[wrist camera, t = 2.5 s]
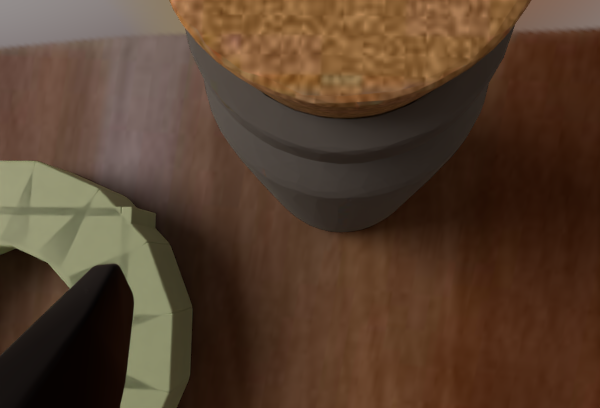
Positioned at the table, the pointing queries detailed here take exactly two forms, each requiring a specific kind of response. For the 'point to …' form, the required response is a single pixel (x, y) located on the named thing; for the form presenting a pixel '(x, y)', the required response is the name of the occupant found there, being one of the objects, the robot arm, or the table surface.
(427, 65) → the bottle
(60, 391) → the robot arm
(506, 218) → the table surface
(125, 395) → the holder
